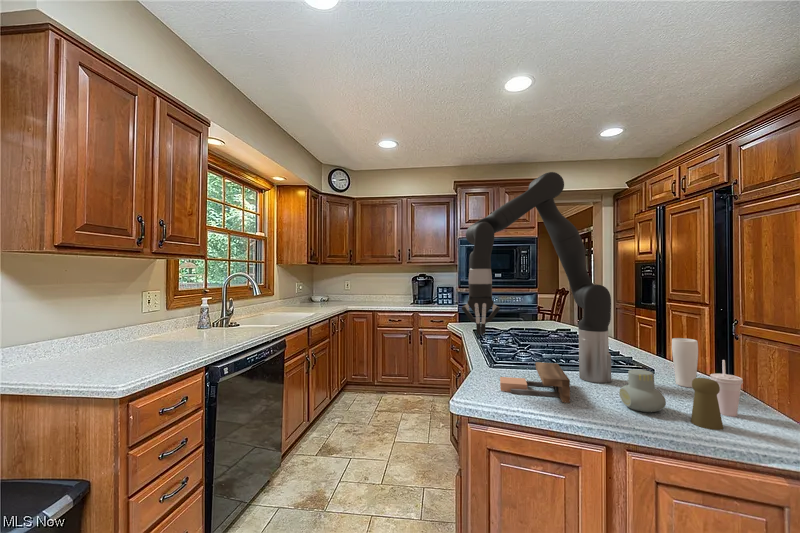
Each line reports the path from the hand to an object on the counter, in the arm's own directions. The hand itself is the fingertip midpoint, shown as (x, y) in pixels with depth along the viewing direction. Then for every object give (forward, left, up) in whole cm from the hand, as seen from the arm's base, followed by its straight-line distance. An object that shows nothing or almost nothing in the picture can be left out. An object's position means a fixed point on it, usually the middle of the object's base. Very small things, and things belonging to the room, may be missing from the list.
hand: (480, 334), depth 118 cm
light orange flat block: (-10, 0, -17) cm, 20 cm away
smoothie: (-63, +9, -17) cm, 66 cm away
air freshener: (-43, +10, -17) cm, 47 cm away
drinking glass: (-65, -16, -17) cm, 69 cm away
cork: (-54, +18, -17) cm, 59 cm away
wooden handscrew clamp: (-18, 0, -17) cm, 25 cm away
